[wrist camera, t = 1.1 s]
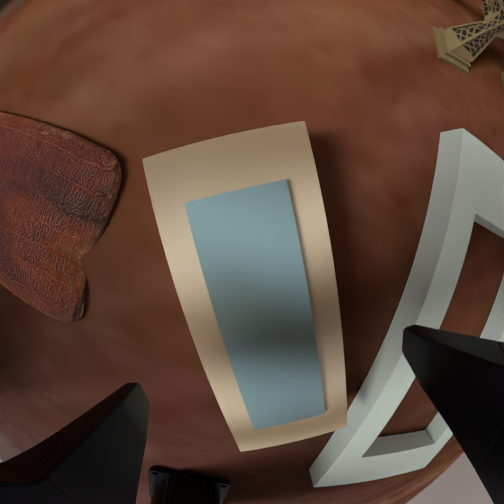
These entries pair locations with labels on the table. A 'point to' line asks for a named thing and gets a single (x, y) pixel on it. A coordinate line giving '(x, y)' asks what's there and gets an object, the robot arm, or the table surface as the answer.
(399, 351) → the pale grey open frame
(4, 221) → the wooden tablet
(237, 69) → the table surface
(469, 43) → the eiffel tower
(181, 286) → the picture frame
